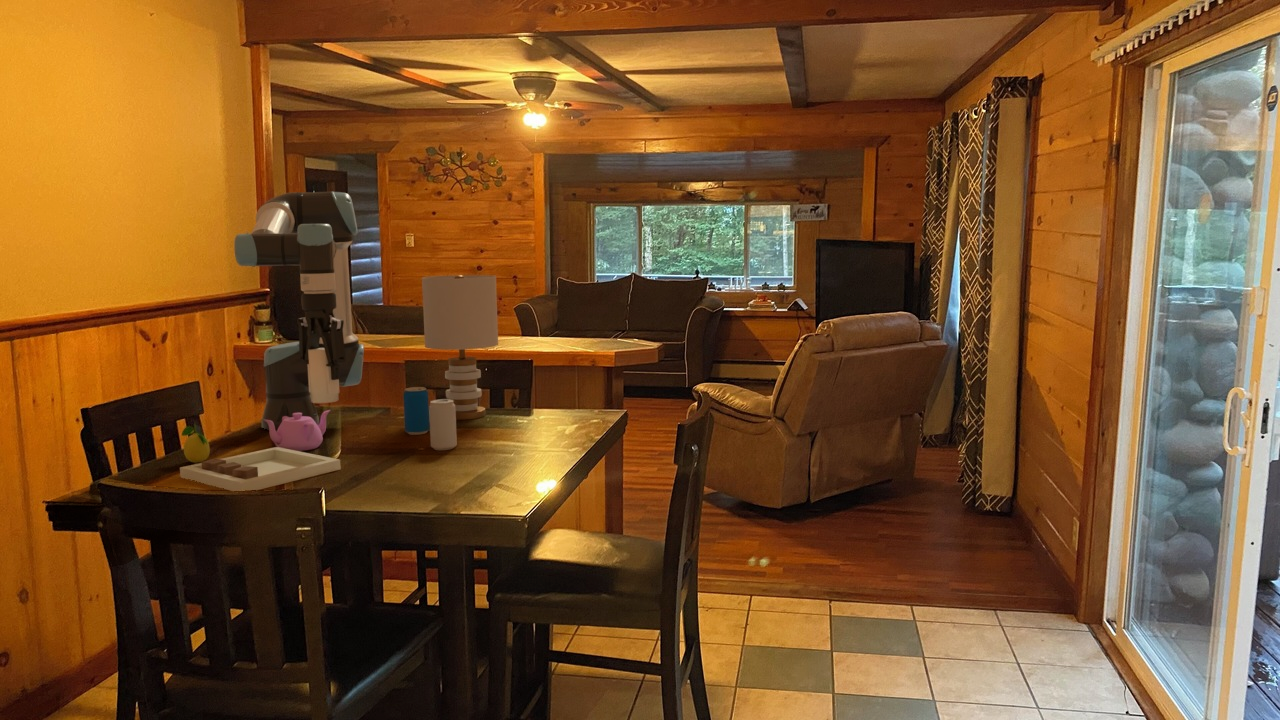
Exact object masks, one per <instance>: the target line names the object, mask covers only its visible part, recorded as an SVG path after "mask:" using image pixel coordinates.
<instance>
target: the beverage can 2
mask: <svg viewBox="0 0 1280 720" xmlns="http://www.w3.org/2000/svg"><path fill="white" fill-rule="evenodd" d="M453 402H454V401H453V400H451V399H448V398H441V399H433V400H430V404H429V424H430V430H429V435H430V440H429V441H430V447H431V448H432V449H433V450H436V451H449V450H452V449H454V448H455V447H456V446H457V445H458V443H457V442H458V438H457V420H456V412H455V404H454V403H453Z"/></svg>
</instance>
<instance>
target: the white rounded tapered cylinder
mask: <svg viewBox="0 0 1280 720" xmlns="http://www.w3.org/2000/svg"><path fill="white" fill-rule="evenodd" d="M308 357H309V373H310V390H311V392H310V395H311V402H312V403H313V404H327V403H328V404H330V403H335V402H338V401H339V393H337V394H332V395H328V391H327V374H326V364H328V360H327V356H326V352H325V348H315V349H309V350H308Z"/></svg>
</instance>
